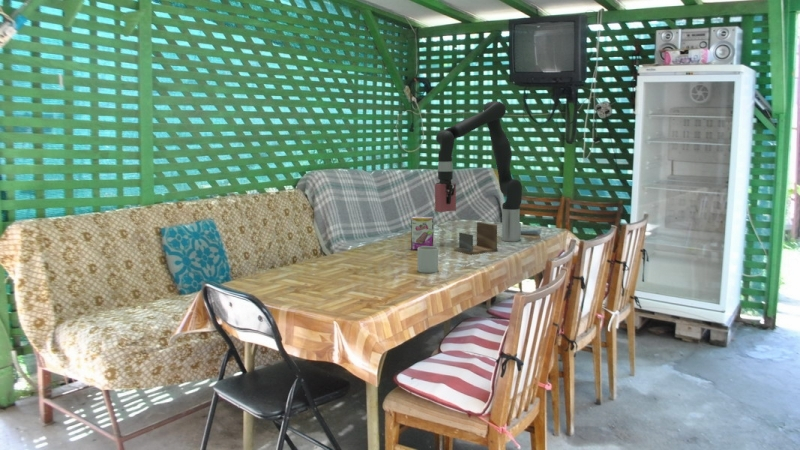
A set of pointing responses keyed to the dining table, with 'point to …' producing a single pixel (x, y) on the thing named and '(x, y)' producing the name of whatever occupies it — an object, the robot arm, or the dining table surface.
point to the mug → (427, 259)
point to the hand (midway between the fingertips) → (445, 203)
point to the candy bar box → (422, 232)
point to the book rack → (479, 240)
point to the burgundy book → (444, 199)
